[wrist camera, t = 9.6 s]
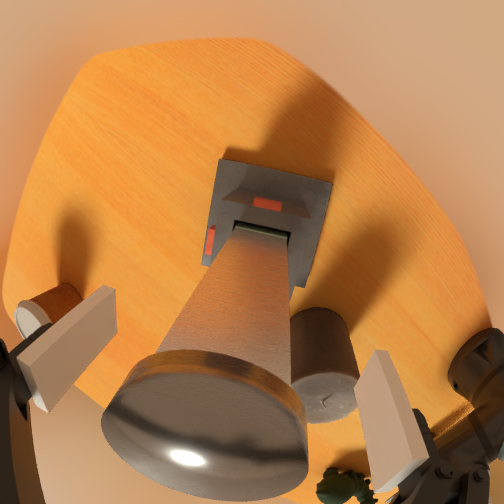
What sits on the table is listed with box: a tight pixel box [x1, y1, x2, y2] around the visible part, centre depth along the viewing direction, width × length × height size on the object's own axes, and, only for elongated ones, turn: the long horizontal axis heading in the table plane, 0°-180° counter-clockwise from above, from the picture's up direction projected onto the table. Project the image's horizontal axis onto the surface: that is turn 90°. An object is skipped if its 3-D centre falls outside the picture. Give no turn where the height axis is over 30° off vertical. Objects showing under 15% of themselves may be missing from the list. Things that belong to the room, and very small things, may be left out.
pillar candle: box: [290, 307, 360, 424], centre depth 34 cm, size 10×10×15 cm
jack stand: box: [201, 159, 333, 301], centre depth 31 cm, size 14×14×12 cm
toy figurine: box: [316, 468, 378, 504], centre depth 47 cm, size 9×19×25 cm
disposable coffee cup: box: [14, 284, 82, 340], centre depth 39 cm, size 10×10×12 cm
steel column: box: [101, 221, 308, 501], centre depth 18 cm, size 6×6×24 cm
